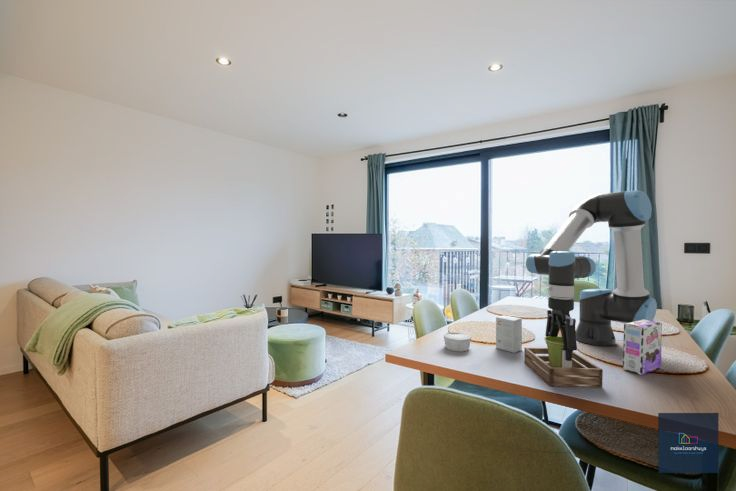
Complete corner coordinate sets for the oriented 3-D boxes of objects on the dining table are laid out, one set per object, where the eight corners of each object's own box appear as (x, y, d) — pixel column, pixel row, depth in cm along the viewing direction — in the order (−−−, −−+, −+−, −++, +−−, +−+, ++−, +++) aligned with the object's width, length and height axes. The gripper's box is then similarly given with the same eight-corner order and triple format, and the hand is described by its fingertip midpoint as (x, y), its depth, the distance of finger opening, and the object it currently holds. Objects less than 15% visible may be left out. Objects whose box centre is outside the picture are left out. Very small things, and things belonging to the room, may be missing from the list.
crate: (567, 363, 123) (568, 348, 123) (602, 387, 103) (602, 369, 103) (524, 362, 124) (524, 347, 124) (550, 386, 104) (550, 368, 104)
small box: (522, 349, 138) (522, 318, 137) (514, 353, 134) (514, 320, 133) (503, 344, 144) (503, 314, 144) (495, 348, 140) (495, 316, 140)
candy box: (641, 375, 112) (642, 326, 112) (621, 369, 117) (622, 322, 117) (661, 368, 118) (663, 322, 118) (642, 362, 124) (643, 318, 123)
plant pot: (537, 362, 116) (538, 337, 116) (556, 358, 120) (557, 334, 119) (562, 372, 107) (563, 345, 107) (582, 368, 111) (583, 342, 111)
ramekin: (461, 342, 147) (461, 330, 147) (476, 351, 137) (477, 338, 136) (438, 345, 144) (438, 333, 143) (453, 354, 133) (453, 341, 133)
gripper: (535, 292, 124) (534, 353, 124) (566, 303, 103) (564, 377, 103) (556, 292, 123) (555, 353, 124) (591, 303, 102) (590, 377, 103)
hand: (559, 364), depth 113 cm, fingers closed on plant pot, 8 cm apart
